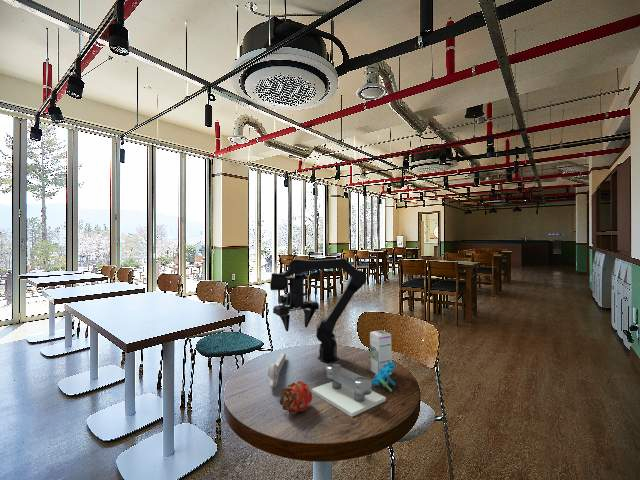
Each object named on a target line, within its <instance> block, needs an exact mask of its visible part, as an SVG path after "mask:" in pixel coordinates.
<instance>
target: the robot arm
mask: <svg viewBox="0 0 640 480" xmlns="http://www.w3.org/2000/svg"><path fill="white" fill-rule="evenodd" d="M329 269H330V270H331V269H333V270H334V269H342V270H343V271H344V272H345V273H346V274H347V275H349V277H348V280H347V283H346V287H345V288H344V290H343V292H342V293H341V295H340V296H339V298H338V300H337V301H336V303H335V304H334V306H333V307H332V309H331V311H330V313H329V314H328V315H327V316H326V318H324V317H321V318H320V321H319V322H318V323H317V324H316V328H315V329H316V332H315V333H316V334H315V335H316V339H317V340H318V342H320V344H319V350H318V352H319V353H318V356H317V360H320V361H323V362H325V363H327V364H328V363H329V364H330V363H332V362H335V361H338V360H340V357H338V345H337V344H338V343H337V339H336V335H335V334H334V329H335V326H336V324H337V322H338V320H339V318H340V317H341V315H342V314H343V312H344V310H345V309H346V308H347V306H348V304H349V303H350V302H351V300H352V298H353V296H354V295H355V293H357V292H358V291H359V290H360V289H361V288H362V287H363V286H364V285H365V283H366V282H367V278H368V277H367V274H366V272H365V271H363V270H361V269H358V268H357V269H356V268H355V267H354V266H353V265H352V264H351V263H350V262H349V261H348V260H347V259H346V258H345V257H340V258H332V259H329V258H327V259H317V260H316V259H315V260H314V259H313V260H310V259H304V258H294V259H292V260H291V261H290V263H289V265H288V269H287V270H286V271H285V272H284V273H276V272H272V273H271V278H270V283H269V287H270V288H269V289H270V290H271V291H286V289H288V287H289V291H288V292H287V293H286V294H287V296H285V295H284V294H283V295H278V297H277V302H278V304H279V305H274V306H273V309H272V313H273V314H274V315H276V316H277V317H279V318H280V320H281V322H282V324H283V327H284V329H285V332H289V329H290V320H291V318H290V317H291V315H290V312H293V311H300V310H303V313H304V314H303V315H304V319H303V320H304V328H308V326H309V324H310V322H311V320H312V318H313V317H314V315H315V313H317V310H319V307H320V305H319V303H318V302H317V301H314V300H306V301H304V300H305V297H306V294H307V293H306V292H305V291H304V290H305V286H304V285H305V283H304V281H305V280H309V276H308V275H307V274H306V273H307V272H310V271H314V270H315V271H316V270H329ZM293 275H294V276H293Z"/></svg>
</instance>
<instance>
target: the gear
mask: <svg viewBox="0 0 640 480" xmlns="http://www.w3.org/2000/svg"><path fill="white" fill-rule="evenodd" d="M395 367H396V364H395V362H394V360H392V362H388V364H387V365H386V364H385V365H384V366H383V369H380V370H379V371H378V372H379V374H378V375H377V374H374V378H372V386H374V387H376V386H377V387H378V386H379V385H380V383H381V384H382V386H383V388H386V389H387V390H389V392H390V393H392V391H393V389H392V388H391V387H390V386H389V385H388V384H389V383H390V384H391V385H392V386H393V387H394V386H396V382H395V381H393V380H392V378H391V376H390V375H391V374H390V375H389V372H391V373H392V374H393V372H394V369H395Z"/></svg>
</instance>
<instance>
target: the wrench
mask: <svg viewBox="0 0 640 480" xmlns="http://www.w3.org/2000/svg"><path fill="white" fill-rule="evenodd" d="M285 362H286V353H284V352H281V353H280V354H279V357H278V358H277V359H276V361H275V362H274V363H269V364H268V365H269V366H268V369H267V377H268V378H269V377H270V378H269V379H270V380H269V383H268V386H269V388H277V387H276V386H277V380H278V376H279V373H280V371H281V369H282V368H283V365H284V363H285Z"/></svg>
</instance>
